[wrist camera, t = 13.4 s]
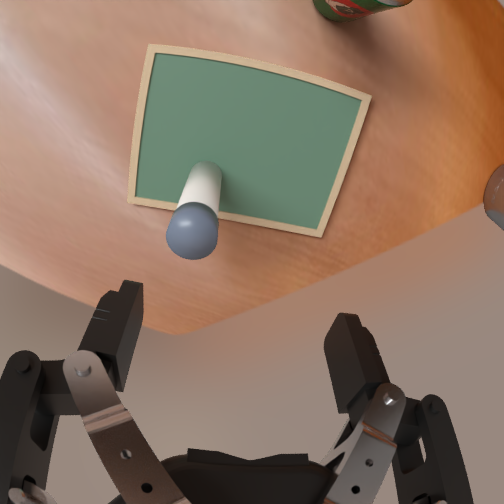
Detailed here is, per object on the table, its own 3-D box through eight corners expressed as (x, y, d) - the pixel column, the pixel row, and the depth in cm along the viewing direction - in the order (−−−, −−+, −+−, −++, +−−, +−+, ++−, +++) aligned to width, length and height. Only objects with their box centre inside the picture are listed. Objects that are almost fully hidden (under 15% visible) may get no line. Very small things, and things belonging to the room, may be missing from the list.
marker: (226, 163, 30) (221, 220, 20) (219, 194, 31) (212, 263, 21) (191, 157, 29) (168, 211, 19) (186, 188, 31) (164, 255, 21)
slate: (367, 94, 27) (371, 95, 26) (319, 233, 35) (321, 237, 35) (151, 44, 23) (148, 43, 22) (129, 199, 32) (127, 202, 31)
